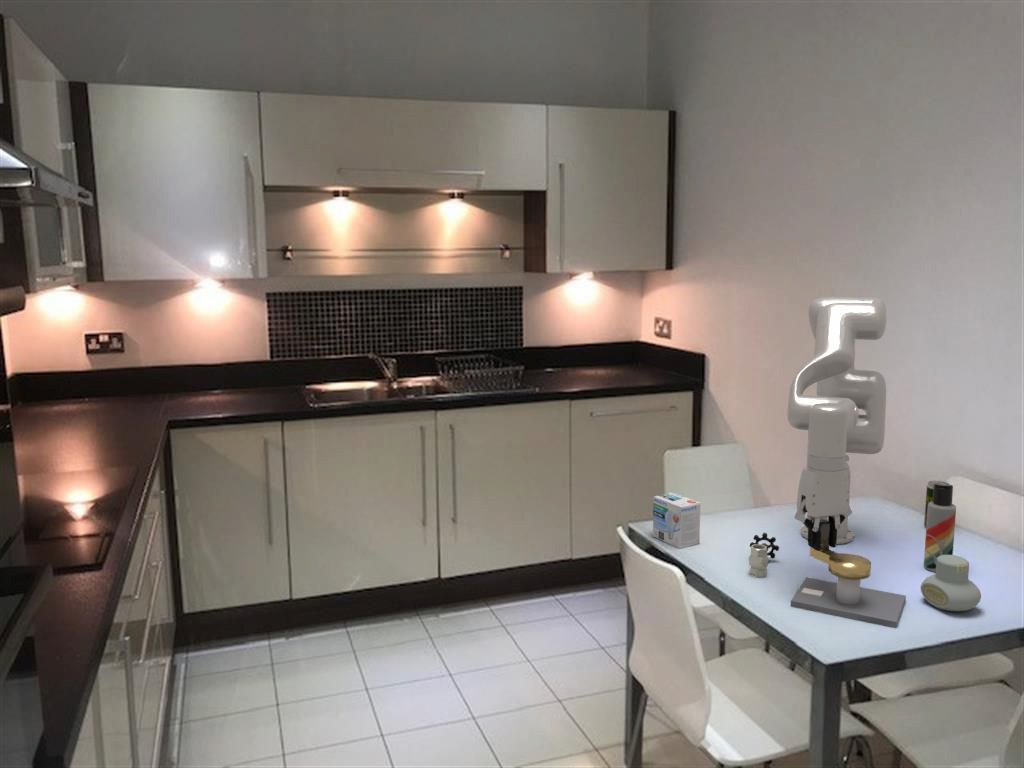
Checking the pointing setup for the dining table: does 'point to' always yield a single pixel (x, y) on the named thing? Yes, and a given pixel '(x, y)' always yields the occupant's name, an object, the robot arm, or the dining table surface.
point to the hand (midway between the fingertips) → (821, 545)
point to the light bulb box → (676, 520)
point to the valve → (761, 555)
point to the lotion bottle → (939, 526)
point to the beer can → (930, 495)
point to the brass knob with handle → (840, 557)
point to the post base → (849, 601)
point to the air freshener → (951, 585)
